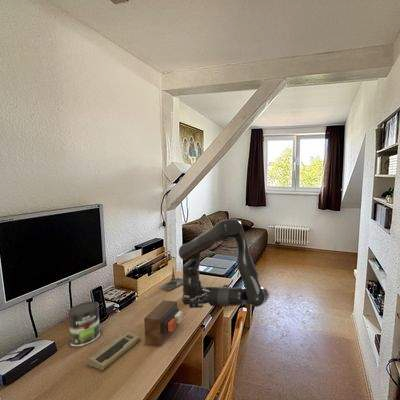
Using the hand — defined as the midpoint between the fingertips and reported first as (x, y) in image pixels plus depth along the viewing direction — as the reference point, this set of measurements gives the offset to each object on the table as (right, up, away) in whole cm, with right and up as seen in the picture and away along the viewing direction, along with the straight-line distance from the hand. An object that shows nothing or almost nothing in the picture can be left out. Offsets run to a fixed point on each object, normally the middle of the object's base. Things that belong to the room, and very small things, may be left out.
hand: (189, 296), depth 98 cm
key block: (-13, -18, +2) cm, 22 cm away
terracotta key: (-7, -13, -2) cm, 15 cm away
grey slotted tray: (-27, -19, -9) cm, 34 cm away
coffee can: (-45, -18, -1) cm, 49 cm away
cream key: (-6, -13, +3) cm, 14 cm away
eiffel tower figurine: (-27, -13, +48) cm, 57 cm away
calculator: (-53, -16, +22) cm, 59 cm away
